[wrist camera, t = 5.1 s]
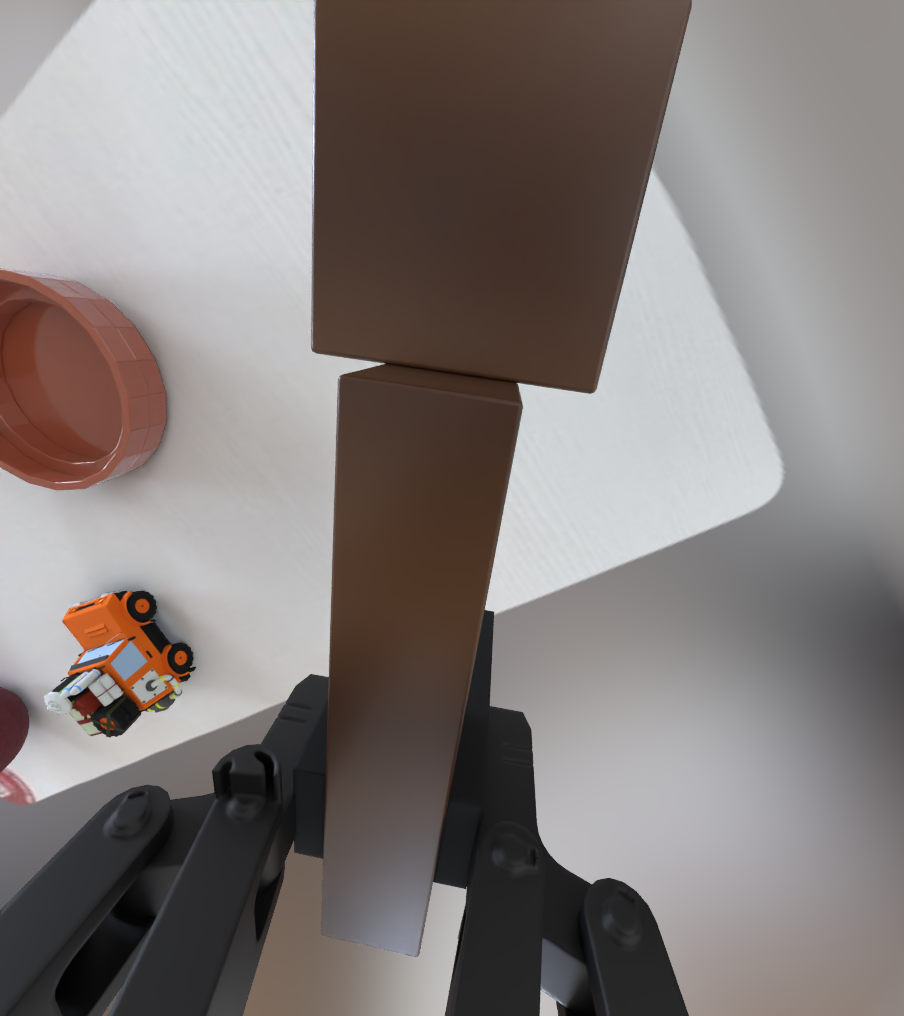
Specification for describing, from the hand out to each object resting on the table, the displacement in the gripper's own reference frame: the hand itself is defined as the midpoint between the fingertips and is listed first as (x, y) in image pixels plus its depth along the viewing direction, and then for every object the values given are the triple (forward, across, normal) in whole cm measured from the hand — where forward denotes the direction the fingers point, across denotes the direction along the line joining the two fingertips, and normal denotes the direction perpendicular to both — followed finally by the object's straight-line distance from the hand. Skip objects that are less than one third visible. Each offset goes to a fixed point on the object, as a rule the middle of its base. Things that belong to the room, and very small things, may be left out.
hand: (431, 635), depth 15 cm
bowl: (+18, -30, +2) cm, 35 cm away
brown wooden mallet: (+6, 0, +5) cm, 8 cm away
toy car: (+19, -28, -20) cm, 39 cm away
